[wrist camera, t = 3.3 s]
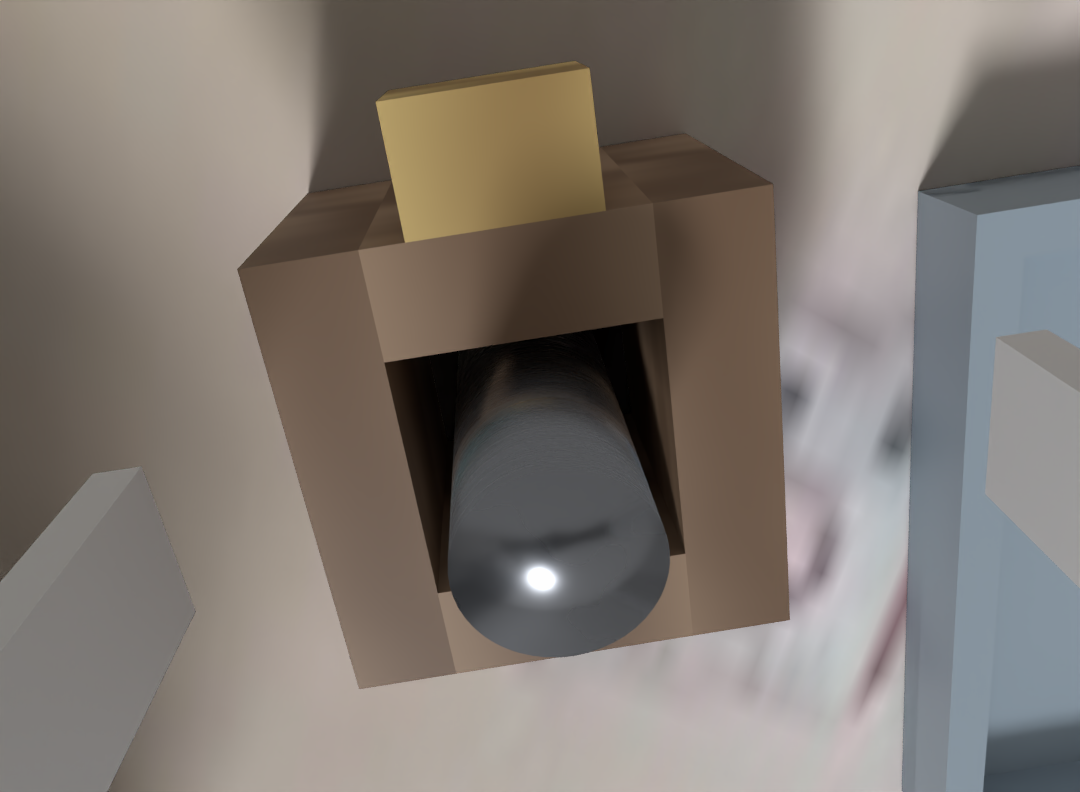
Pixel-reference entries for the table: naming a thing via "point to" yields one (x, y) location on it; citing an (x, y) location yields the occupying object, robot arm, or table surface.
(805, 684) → the table surface
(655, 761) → the table surface
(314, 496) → the collar
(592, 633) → the post
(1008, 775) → the tray
